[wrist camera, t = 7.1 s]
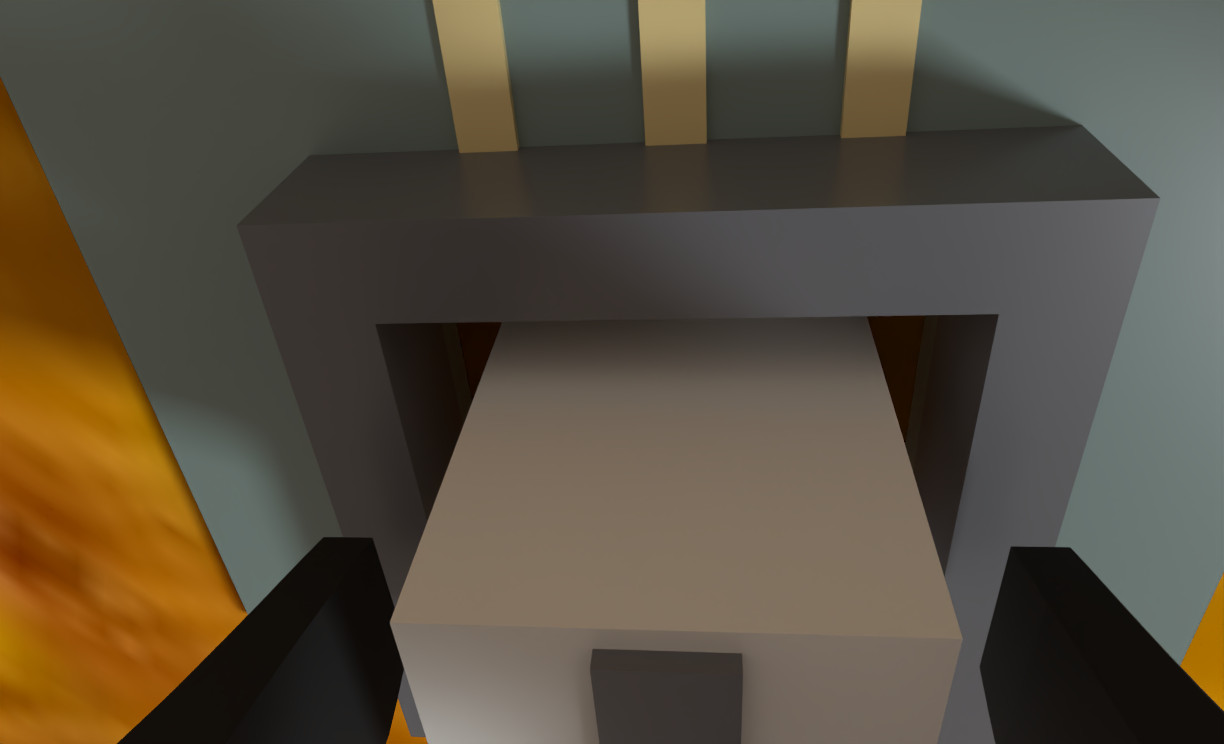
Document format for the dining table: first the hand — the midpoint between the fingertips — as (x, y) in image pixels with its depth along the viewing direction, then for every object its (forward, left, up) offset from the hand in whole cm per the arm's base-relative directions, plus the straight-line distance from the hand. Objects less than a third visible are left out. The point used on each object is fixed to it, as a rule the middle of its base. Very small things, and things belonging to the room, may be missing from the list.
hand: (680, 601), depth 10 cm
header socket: (+2, 0, -4) cm, 4 cm away
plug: (0, 0, -4) cm, 4 cm away
